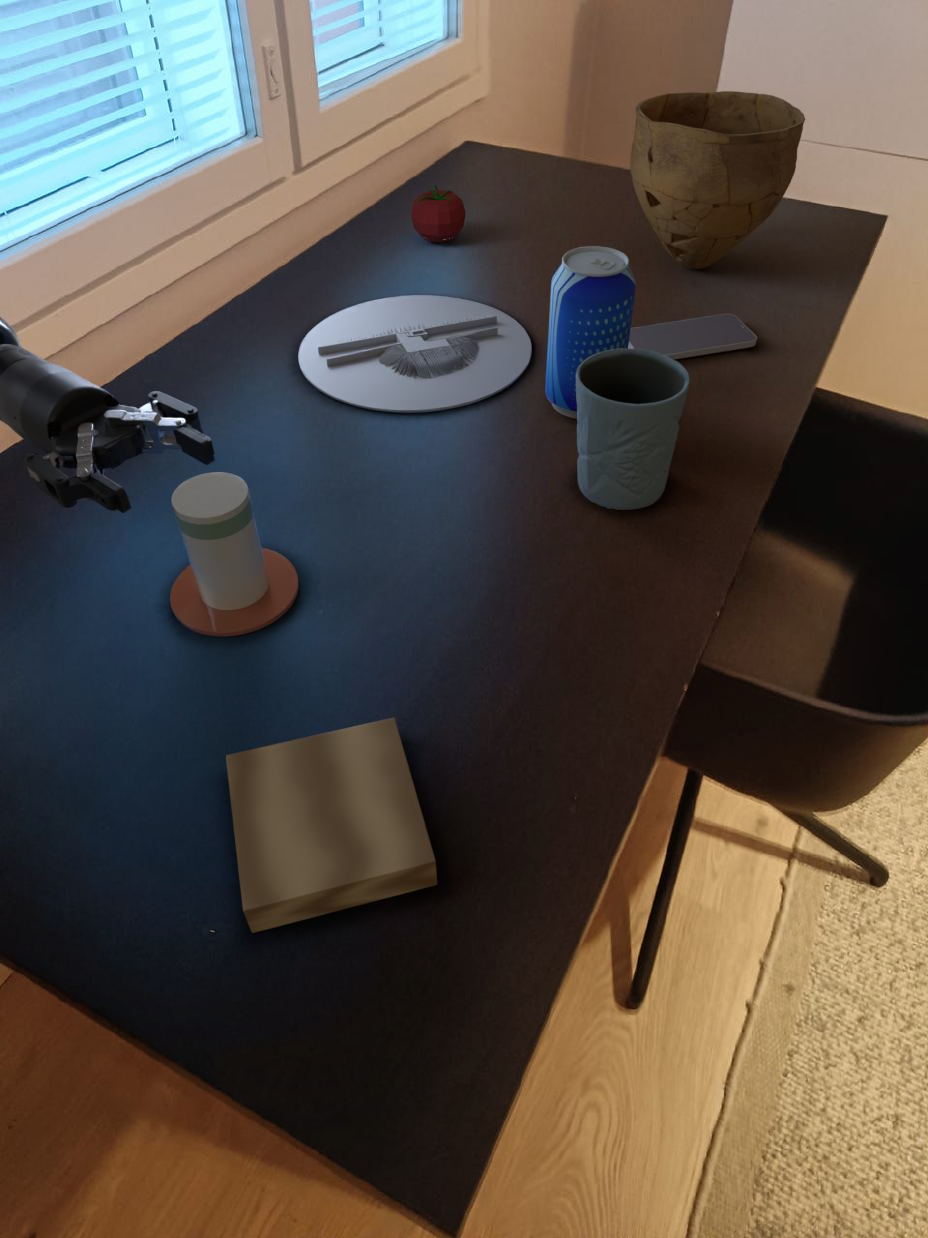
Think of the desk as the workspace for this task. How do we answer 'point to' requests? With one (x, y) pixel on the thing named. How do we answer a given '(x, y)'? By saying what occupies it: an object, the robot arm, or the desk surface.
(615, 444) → the embossed ceramic tumbler
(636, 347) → the smartphone
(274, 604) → the coaster
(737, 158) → the bowl
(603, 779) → the desk surface
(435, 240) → the tomato
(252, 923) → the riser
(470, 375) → the plate
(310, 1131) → the desk surface
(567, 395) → the beer can
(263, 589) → the canister
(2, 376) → the robot arm
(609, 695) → the desk surface
